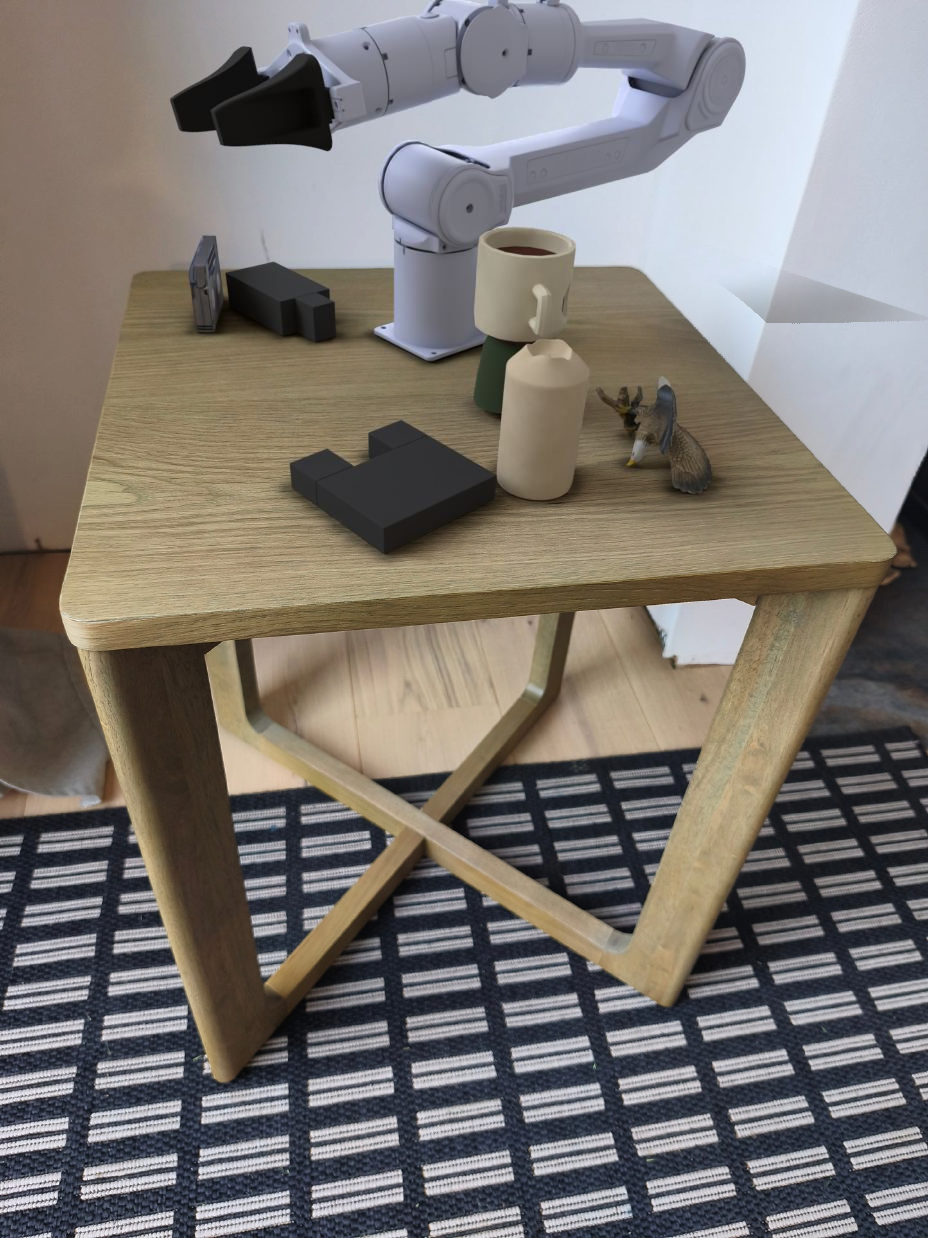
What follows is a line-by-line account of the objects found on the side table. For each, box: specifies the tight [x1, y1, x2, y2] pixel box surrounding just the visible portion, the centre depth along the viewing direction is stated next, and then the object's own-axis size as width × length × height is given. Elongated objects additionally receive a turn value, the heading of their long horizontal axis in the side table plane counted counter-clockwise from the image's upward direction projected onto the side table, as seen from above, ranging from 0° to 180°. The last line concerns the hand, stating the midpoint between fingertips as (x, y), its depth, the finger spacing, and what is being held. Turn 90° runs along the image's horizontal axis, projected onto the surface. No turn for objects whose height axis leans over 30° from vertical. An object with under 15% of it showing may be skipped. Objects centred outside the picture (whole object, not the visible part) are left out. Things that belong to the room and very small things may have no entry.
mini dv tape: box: [188, 234, 225, 333], centre depth 79 cm, size 8×2×6 cm, turn 6°
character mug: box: [472, 226, 577, 414], centre depth 66 cm, size 11×7×13 cm, turn 14°
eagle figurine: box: [595, 375, 713, 495], centre depth 63 cm, size 8×7×9 cm
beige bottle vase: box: [496, 338, 591, 501], centre depth 58 cm, size 6×6×10 cm
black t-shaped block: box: [224, 261, 337, 343], centre depth 80 cm, size 6×12×3 cm, turn 44°
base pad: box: [289, 419, 498, 555], centre depth 59 cm, size 10×10×2 cm
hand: (195, 121), depth 58 cm, fingers open, 7 cm apart
